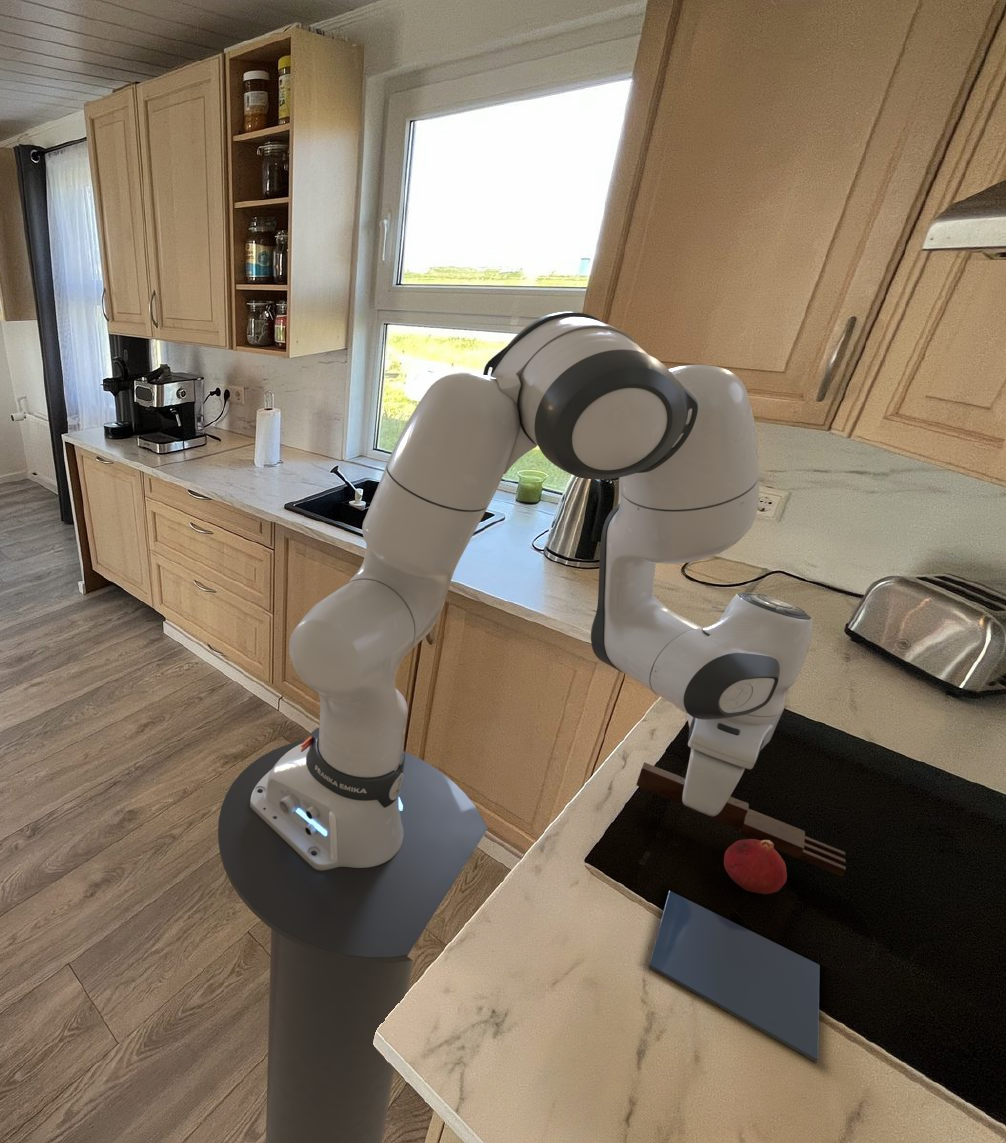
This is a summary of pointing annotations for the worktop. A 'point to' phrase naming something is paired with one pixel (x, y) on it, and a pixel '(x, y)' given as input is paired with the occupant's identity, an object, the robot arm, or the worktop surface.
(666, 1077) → the worktop surface
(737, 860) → the red fruit
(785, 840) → the fork
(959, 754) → the worktop surface
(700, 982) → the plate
